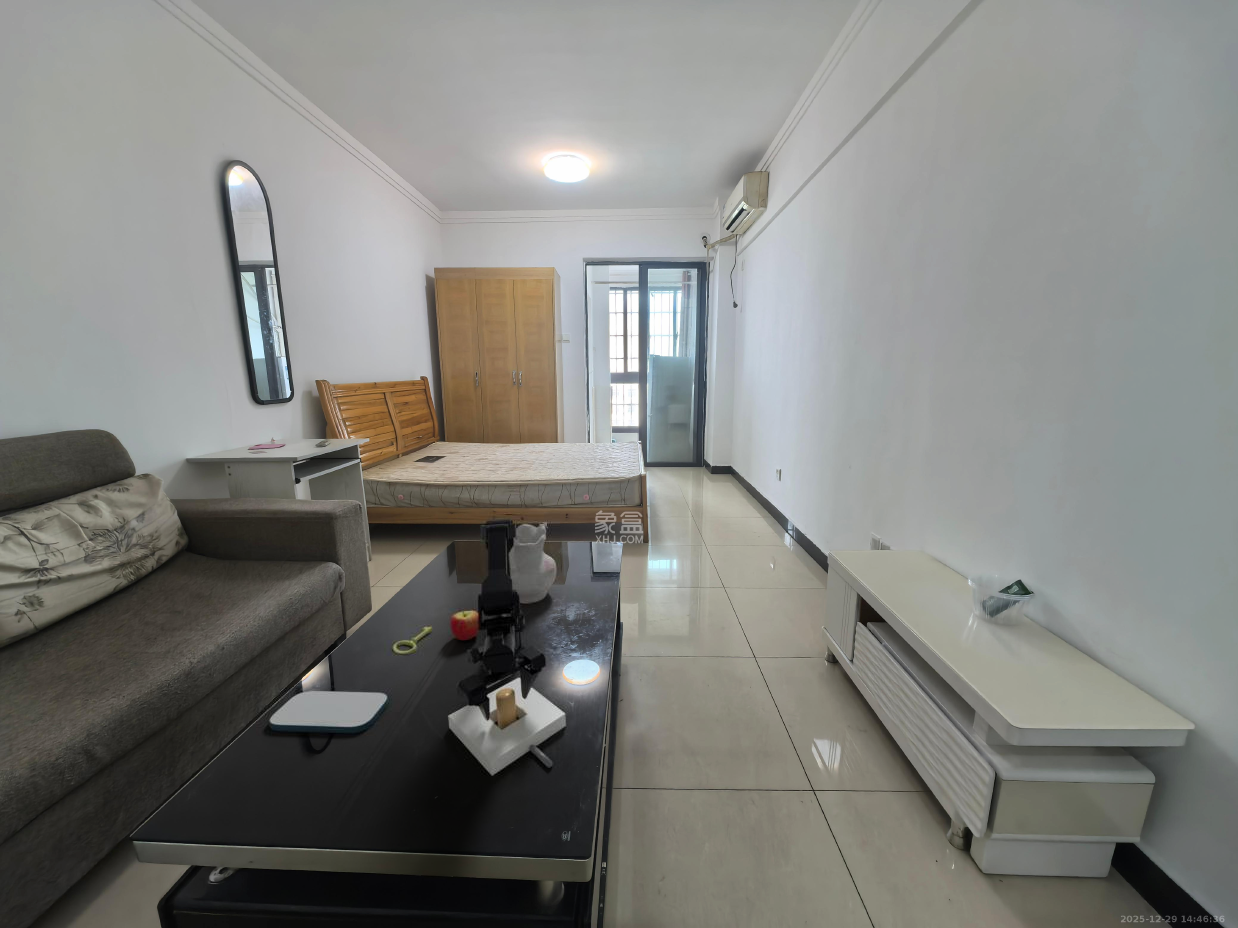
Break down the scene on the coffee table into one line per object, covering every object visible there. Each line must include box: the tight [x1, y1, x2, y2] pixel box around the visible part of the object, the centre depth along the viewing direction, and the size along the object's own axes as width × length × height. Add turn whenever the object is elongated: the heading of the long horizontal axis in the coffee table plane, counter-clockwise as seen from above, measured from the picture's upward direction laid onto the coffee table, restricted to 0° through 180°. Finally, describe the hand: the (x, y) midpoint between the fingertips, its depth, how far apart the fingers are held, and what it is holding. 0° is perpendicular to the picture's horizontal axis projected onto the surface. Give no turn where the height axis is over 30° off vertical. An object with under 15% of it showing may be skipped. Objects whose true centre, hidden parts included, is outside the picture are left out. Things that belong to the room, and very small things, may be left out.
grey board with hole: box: [447, 677, 567, 776], centre depth 100 cm, size 18×24×3 cm
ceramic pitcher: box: [509, 523, 557, 605], centre depth 160 cm, size 22×20×25 cm
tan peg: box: [496, 688, 518, 730], centre depth 102 cm, size 4×4×8 cm
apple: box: [449, 608, 480, 641], centre depth 138 cm, size 8×8×10 cm
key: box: [392, 626, 433, 655], centre depth 137 cm, size 7×12×2 cm, turn 173°
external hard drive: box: [268, 690, 389, 734], centre depth 108 cm, size 24×12×2 cm, turn 86°
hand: (506, 708), depth 102 cm, fingers open, 9 cm apart
